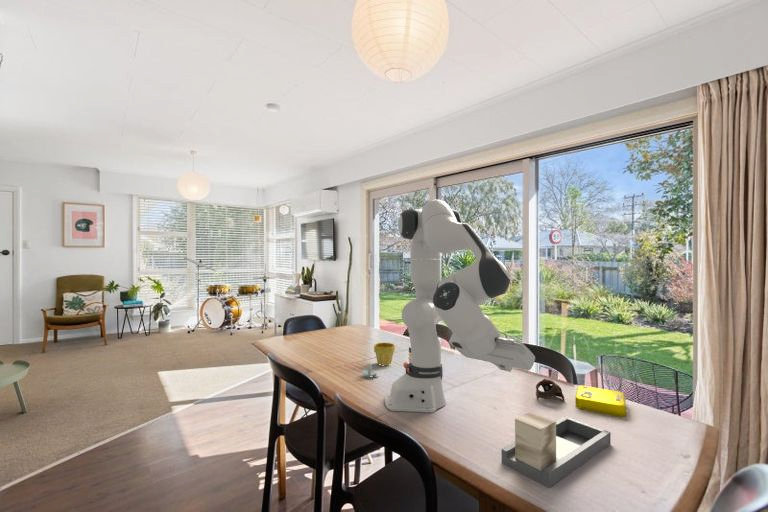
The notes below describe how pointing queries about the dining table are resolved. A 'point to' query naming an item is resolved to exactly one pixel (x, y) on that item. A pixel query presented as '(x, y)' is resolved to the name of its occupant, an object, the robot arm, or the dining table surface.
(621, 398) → the element tile
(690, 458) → the dining table surface
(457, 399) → the dining table surface
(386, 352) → the plant pot
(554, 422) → the block
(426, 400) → the robot arm
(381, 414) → the dining table surface
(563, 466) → the grey rimmed tray
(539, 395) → the pottery mug
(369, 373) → the pacifier
